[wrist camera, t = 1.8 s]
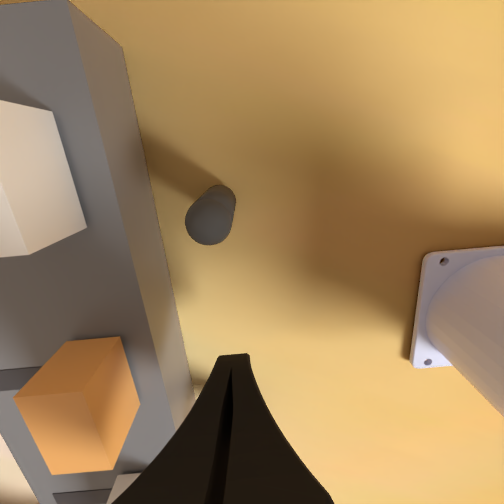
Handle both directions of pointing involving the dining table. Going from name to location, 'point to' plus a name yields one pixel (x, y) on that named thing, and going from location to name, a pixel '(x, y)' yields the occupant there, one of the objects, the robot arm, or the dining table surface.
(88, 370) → the orange block
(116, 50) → the breaker panel
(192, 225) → the cord posts
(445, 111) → the dining table surface
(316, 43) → the dining table surface
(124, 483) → the paddle
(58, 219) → the paddle
